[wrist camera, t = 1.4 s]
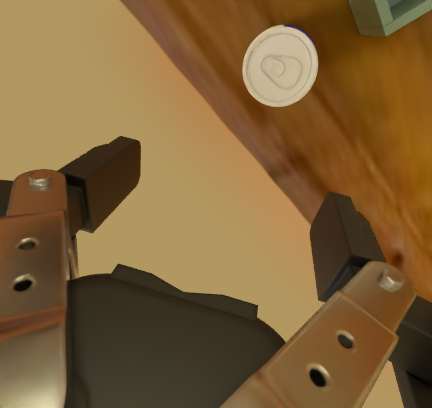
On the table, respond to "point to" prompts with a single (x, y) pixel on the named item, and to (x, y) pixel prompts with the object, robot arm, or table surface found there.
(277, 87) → the beverage can
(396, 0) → the crate
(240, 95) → the table surface
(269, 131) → the table surface
